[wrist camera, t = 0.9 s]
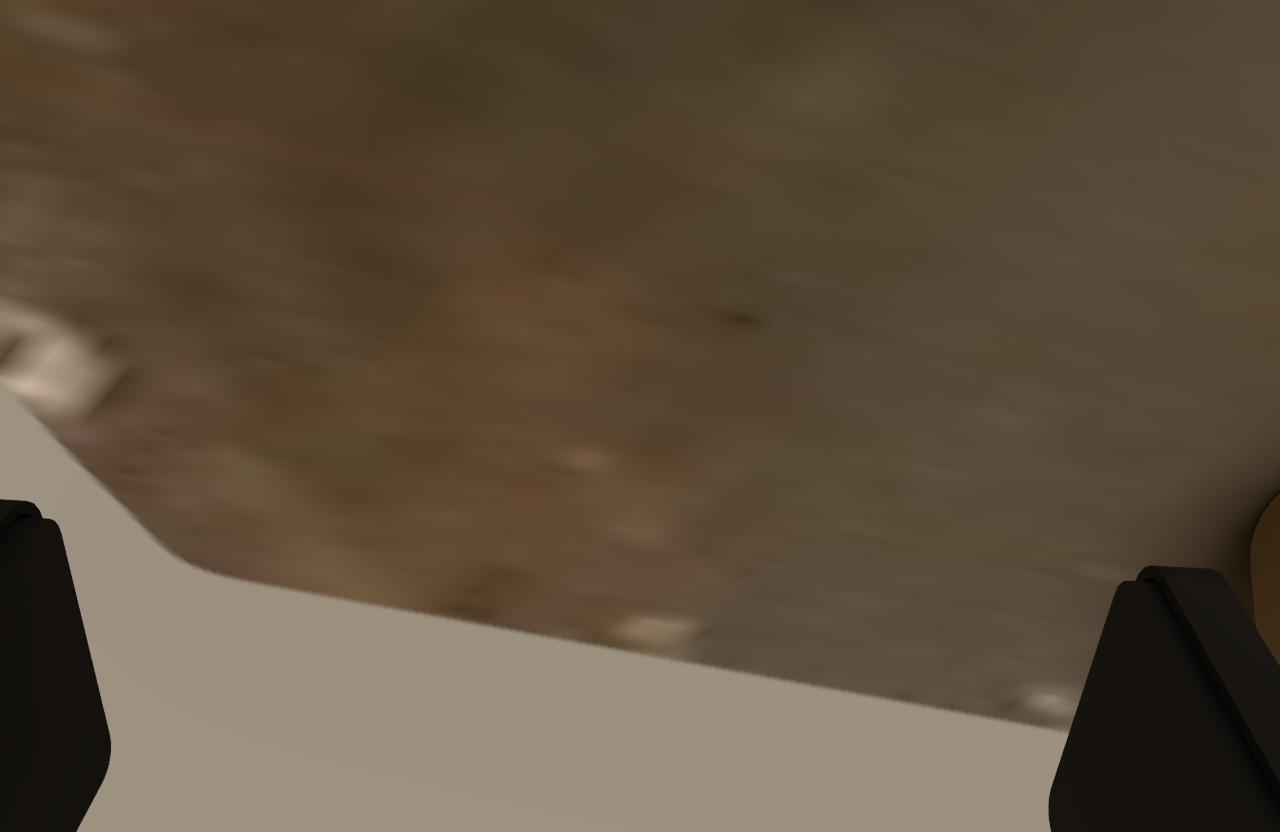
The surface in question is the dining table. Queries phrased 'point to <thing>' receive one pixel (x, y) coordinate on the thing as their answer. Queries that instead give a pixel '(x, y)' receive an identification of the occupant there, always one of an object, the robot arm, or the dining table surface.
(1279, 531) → the plant pot
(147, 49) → the dining table surface
